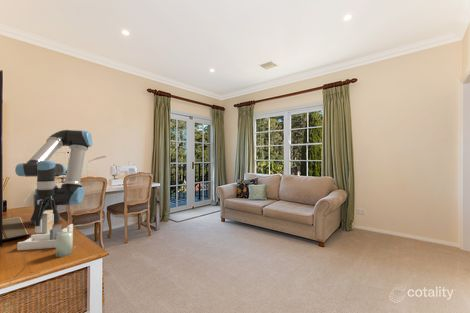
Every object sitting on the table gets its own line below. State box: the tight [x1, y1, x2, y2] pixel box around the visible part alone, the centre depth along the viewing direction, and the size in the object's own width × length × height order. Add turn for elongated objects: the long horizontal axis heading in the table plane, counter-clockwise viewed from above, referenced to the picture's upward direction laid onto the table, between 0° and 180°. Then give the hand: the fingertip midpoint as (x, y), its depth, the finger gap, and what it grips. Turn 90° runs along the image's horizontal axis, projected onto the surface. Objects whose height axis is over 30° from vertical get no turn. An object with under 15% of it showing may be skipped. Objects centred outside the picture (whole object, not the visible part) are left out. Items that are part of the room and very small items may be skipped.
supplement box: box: [36, 210, 53, 234], centre depth 124 cm, size 8×5×13 cm, turn 23°
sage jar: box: [55, 231, 74, 258], centre depth 101 cm, size 6×6×9 cm
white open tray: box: [16, 223, 74, 251], centre depth 111 cm, size 11×18×8 cm, turn 105°
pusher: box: [50, 224, 62, 240], centre depth 113 cm, size 8×6×7 cm
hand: (44, 228), depth 124 cm, fingers open, 11 cm apart
